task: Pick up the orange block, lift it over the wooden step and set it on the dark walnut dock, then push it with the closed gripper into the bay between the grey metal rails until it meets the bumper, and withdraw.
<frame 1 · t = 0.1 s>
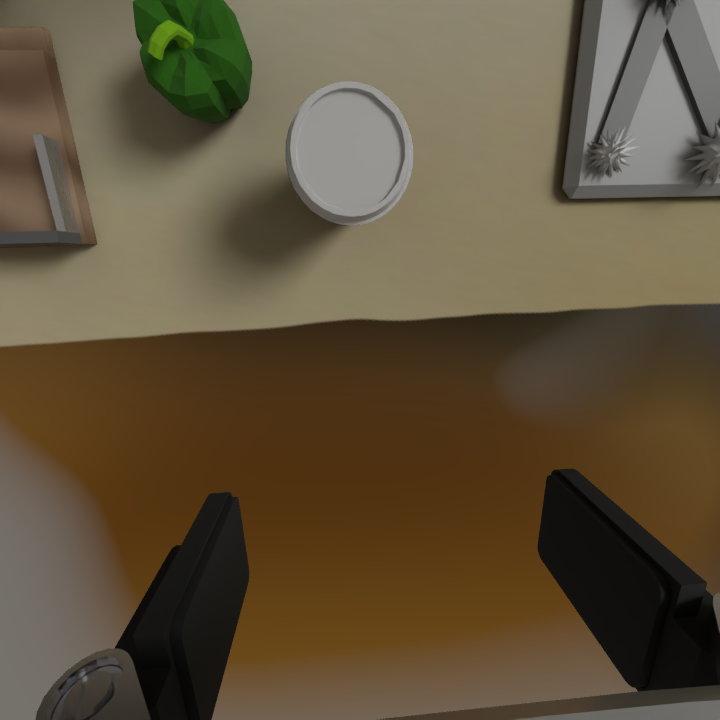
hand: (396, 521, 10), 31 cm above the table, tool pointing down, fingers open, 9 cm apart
loading dock: (9, 147, 33), on the table
bell pepper: (216, 86, 33), on the table
disposable coffee cup: (345, 187, 36), on the table
decorative plate: (703, 87, 37), on the table
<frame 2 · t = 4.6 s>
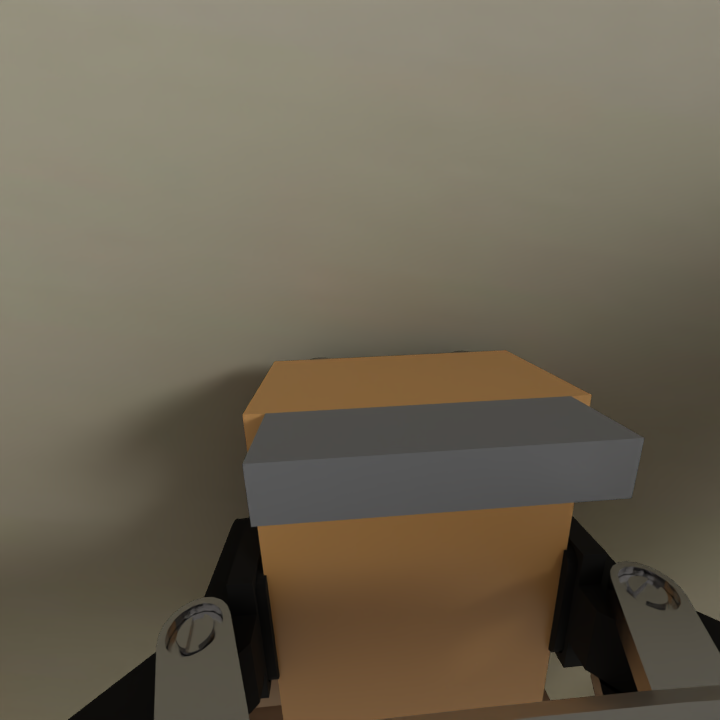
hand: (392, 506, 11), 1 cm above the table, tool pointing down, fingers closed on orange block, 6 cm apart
orange block: (387, 485, 12), on the table, touching gripper
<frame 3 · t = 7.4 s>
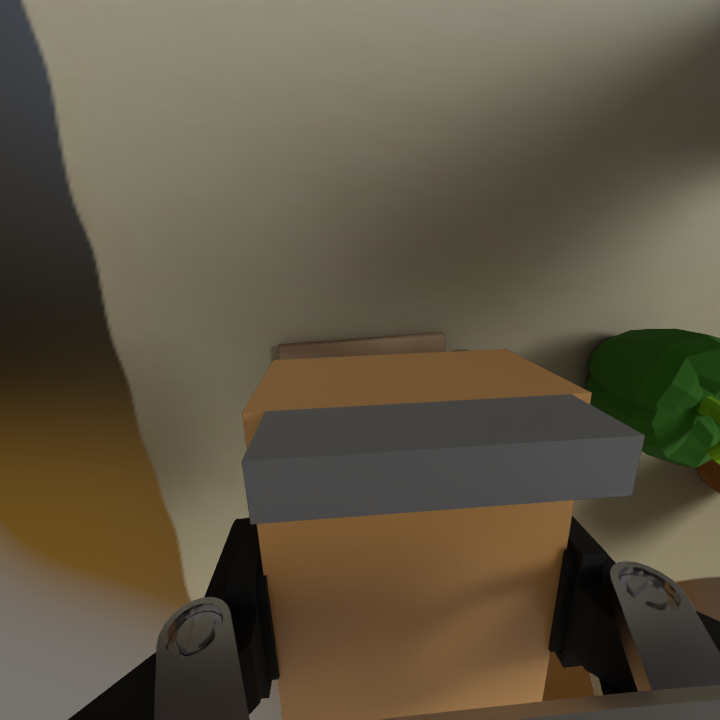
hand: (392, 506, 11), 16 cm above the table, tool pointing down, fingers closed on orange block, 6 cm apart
loading dock: (368, 446, 28), on the table
bell pepper: (612, 368, 28), on the table
orange block: (387, 484, 12), point 15 cm above the table, touching gripper
when the fingers open (3 cm above the table, at t = 10.6 s): orange block stays where it is, resting on loading dock.
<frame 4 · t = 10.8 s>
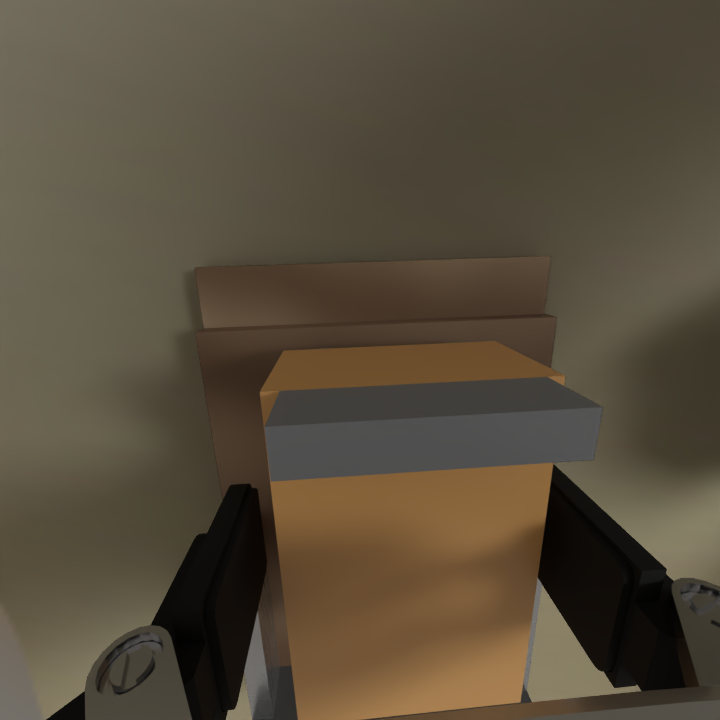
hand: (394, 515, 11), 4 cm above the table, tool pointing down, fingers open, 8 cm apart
loading dock: (379, 480, 15), on the table
orange block: (386, 468, 13), point 1 cm above the table, touching loading dock
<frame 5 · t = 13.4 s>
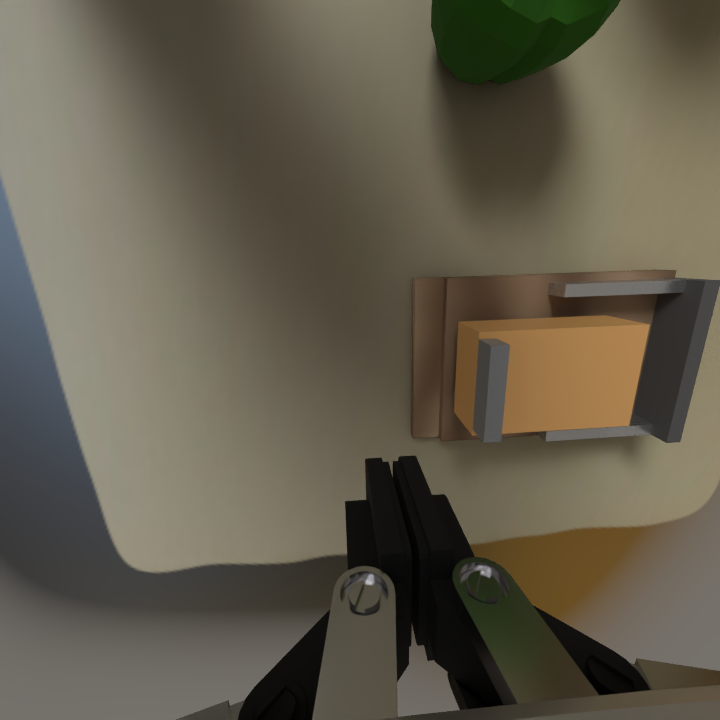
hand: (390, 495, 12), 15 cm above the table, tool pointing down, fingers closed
loading dock: (528, 355, 27), on the table
bell pepper: (480, 36, 21), on the table
orange block: (518, 360, 25), point 1 cm above the table, touching loading dock
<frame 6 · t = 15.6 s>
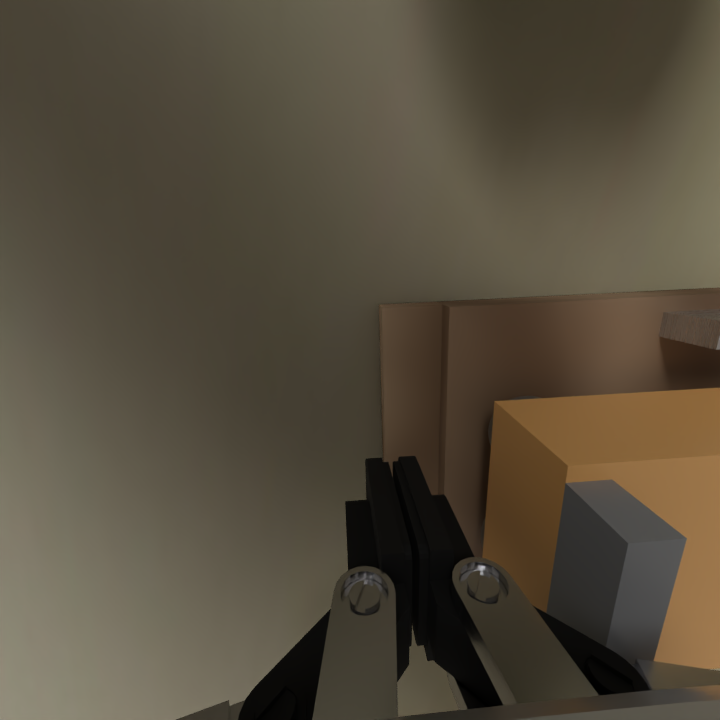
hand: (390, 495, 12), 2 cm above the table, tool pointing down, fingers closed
loading dock: (603, 442, 14), on the table
orange block: (608, 462, 13), point 2 cm above the table, touching gripper
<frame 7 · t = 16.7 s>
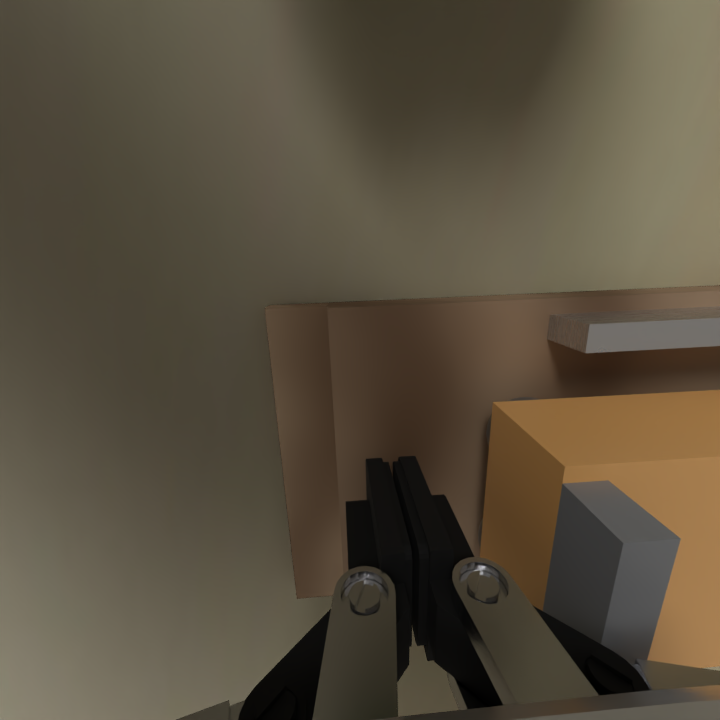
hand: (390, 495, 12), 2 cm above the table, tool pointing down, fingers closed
loading dock: (511, 445, 14), on the table
orange block: (604, 463, 13), point 1 cm above the table, touching gripper, loading dock
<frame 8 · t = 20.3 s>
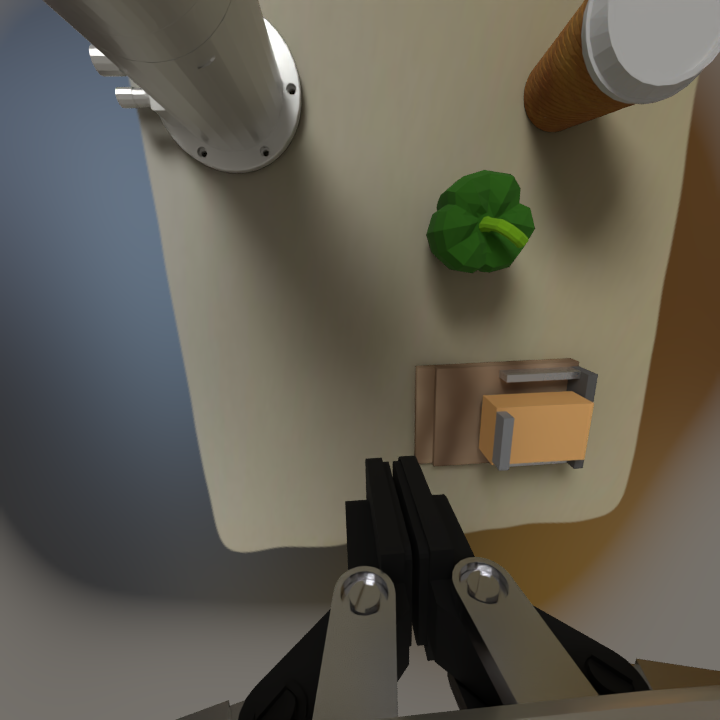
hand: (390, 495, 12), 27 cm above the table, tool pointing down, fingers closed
loading dock: (490, 410, 41), on the table
bell pepper: (455, 232, 36), on the table
disposable coffee cup: (554, 95, 33), on the table
orange block: (519, 415, 40), point 1 cm above the table, touching loading dock
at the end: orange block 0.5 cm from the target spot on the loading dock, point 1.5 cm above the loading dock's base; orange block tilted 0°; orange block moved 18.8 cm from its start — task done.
